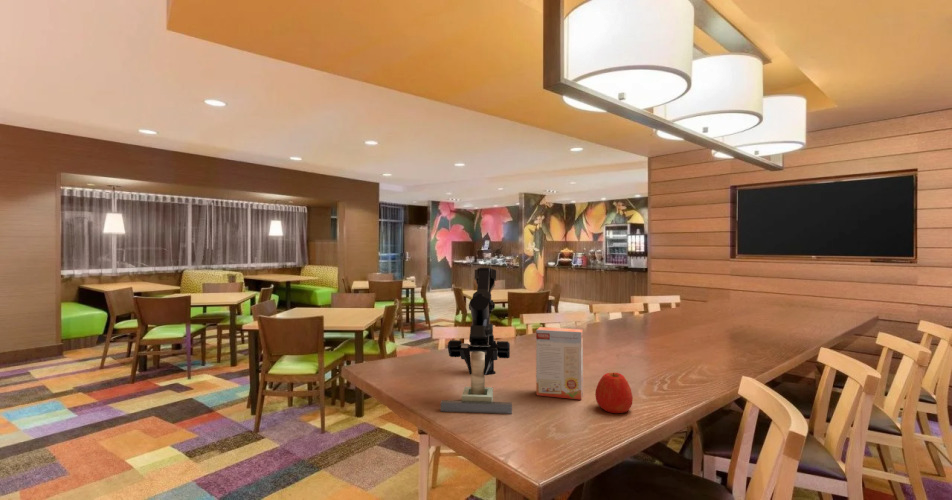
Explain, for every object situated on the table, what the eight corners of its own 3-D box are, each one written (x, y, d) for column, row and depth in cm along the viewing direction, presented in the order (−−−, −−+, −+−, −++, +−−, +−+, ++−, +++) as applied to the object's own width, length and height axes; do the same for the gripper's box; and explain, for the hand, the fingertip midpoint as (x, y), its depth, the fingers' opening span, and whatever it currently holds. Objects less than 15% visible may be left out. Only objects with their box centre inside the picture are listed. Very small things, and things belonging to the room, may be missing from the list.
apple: (607, 400, 133) (607, 366, 133) (639, 409, 125) (639, 373, 125) (588, 408, 126) (588, 372, 126) (621, 418, 118) (622, 380, 118)
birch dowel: (477, 392, 132) (477, 350, 132) (487, 395, 129) (487, 352, 129) (468, 395, 129) (468, 353, 129) (478, 398, 126) (478, 355, 126)
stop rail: (441, 408, 125) (441, 400, 125) (511, 411, 123) (511, 402, 123) (440, 411, 123) (440, 402, 123) (511, 413, 121) (511, 404, 121)
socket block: (464, 399, 133) (464, 386, 133) (492, 400, 133) (492, 387, 133) (461, 410, 125) (461, 396, 125) (491, 411, 124) (491, 396, 124)
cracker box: (583, 394, 138) (583, 328, 138) (581, 400, 132) (581, 331, 132) (539, 389, 142) (539, 325, 142) (535, 395, 137) (535, 328, 137)
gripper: (448, 313, 134) (442, 358, 123) (509, 314, 132) (509, 360, 121) (452, 334, 141) (446, 378, 130) (509, 335, 140) (509, 380, 129)
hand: (477, 374), depth 128 cm, fingers closed on birch dowel, 4 cm apart
